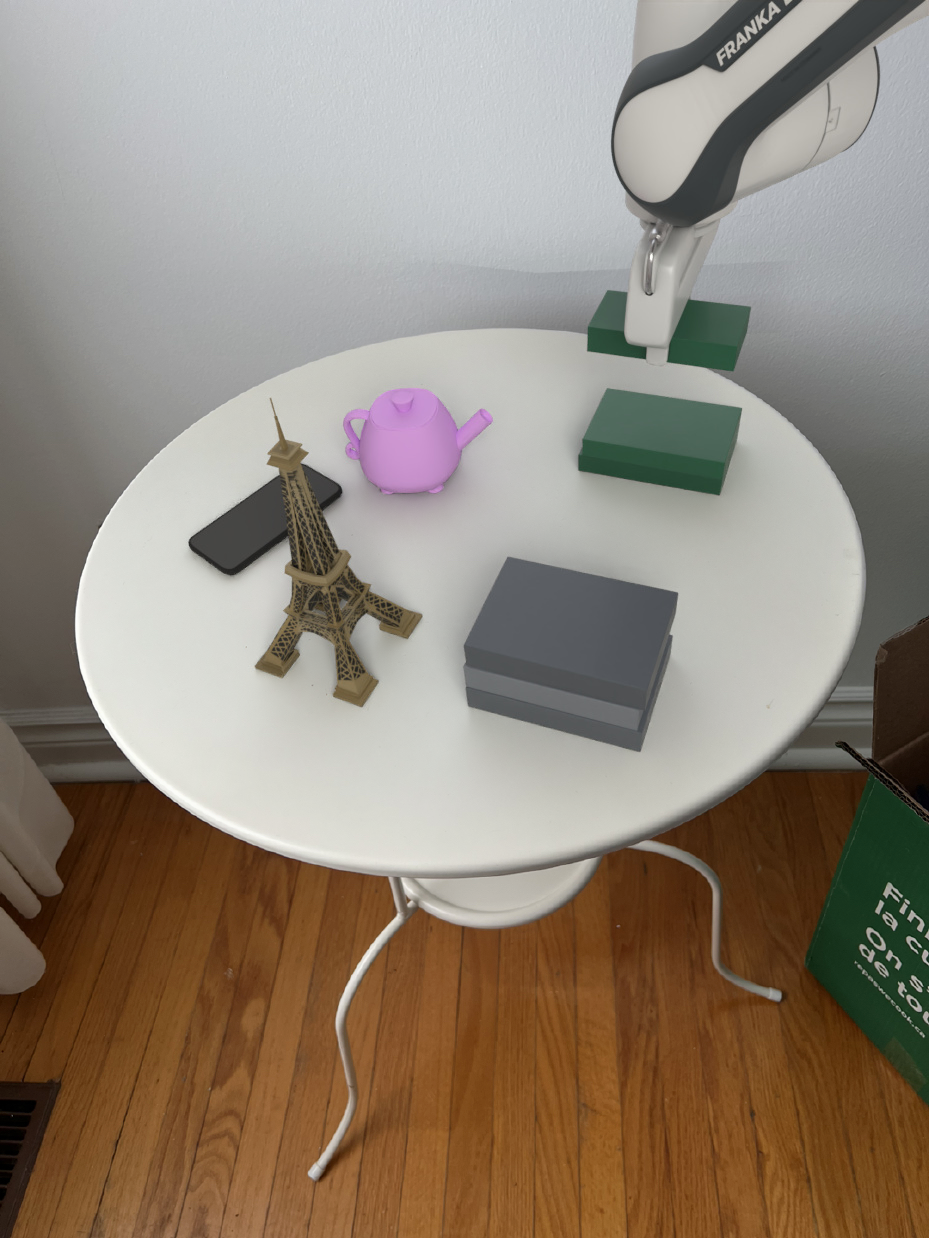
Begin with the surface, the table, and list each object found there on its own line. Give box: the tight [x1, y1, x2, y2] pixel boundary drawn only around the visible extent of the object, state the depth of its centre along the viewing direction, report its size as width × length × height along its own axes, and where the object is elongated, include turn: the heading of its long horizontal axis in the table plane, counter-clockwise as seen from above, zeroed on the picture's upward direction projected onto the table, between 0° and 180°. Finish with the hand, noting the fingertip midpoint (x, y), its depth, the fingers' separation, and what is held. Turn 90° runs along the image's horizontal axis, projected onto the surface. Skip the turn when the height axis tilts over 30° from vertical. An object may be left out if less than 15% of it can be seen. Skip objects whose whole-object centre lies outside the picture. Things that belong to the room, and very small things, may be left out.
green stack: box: [577, 387, 743, 496], centre depth 91 cm, size 14×9×4 cm, turn 69°
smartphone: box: [187, 462, 343, 576], centre depth 90 cm, size 7×1×15 cm
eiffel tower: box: [254, 397, 423, 708], centre depth 70 cm, size 11×11×25 cm
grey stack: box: [462, 556, 679, 753], centre depth 72 cm, size 14×10×8 cm
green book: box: [586, 289, 752, 372], centre depth 82 cm, size 13×6×2 cm, turn 69°
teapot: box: [342, 387, 494, 495], centre depth 90 cm, size 10×15×9 cm
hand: (668, 337), depth 82 cm, fingers closed on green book, 6 cm apart
